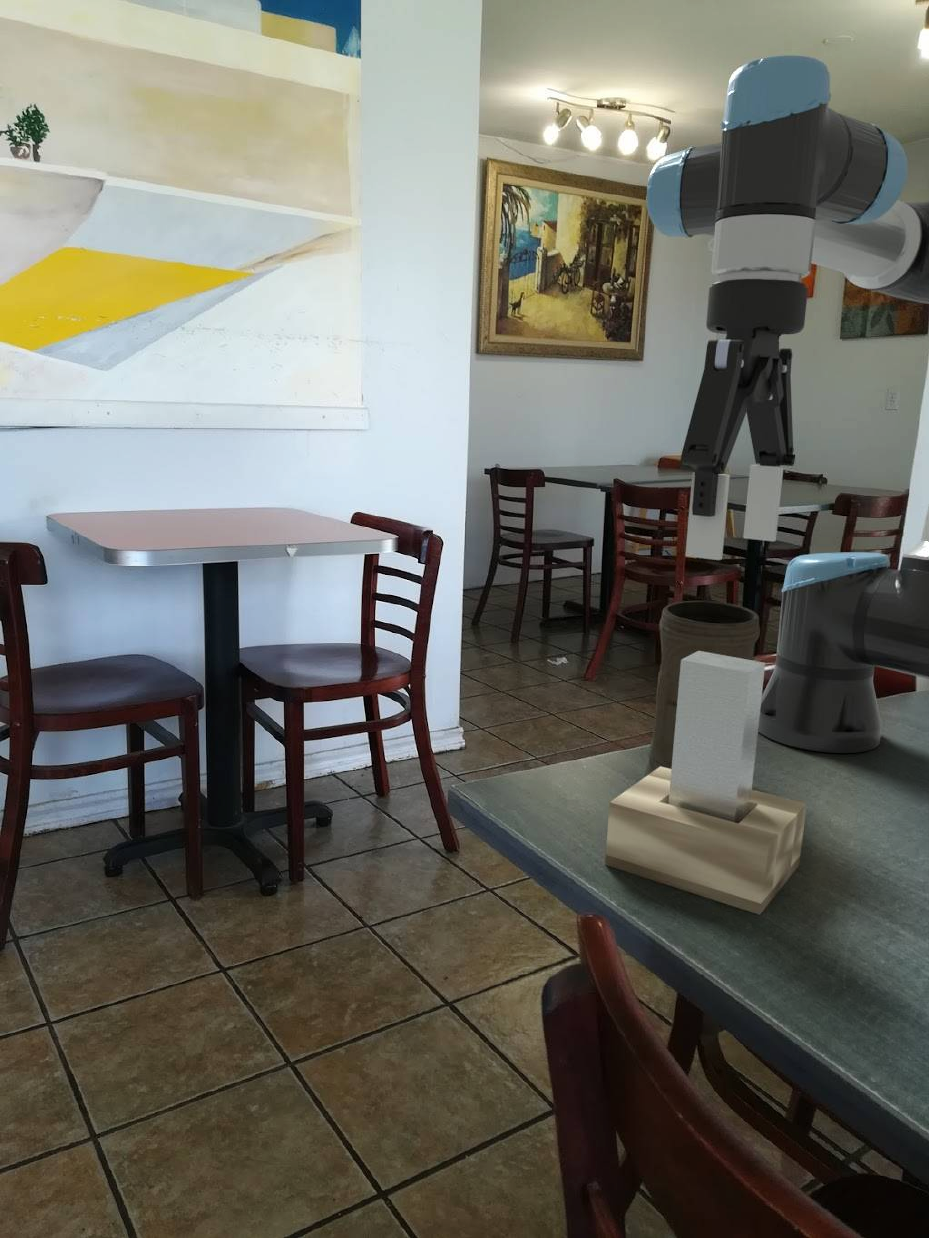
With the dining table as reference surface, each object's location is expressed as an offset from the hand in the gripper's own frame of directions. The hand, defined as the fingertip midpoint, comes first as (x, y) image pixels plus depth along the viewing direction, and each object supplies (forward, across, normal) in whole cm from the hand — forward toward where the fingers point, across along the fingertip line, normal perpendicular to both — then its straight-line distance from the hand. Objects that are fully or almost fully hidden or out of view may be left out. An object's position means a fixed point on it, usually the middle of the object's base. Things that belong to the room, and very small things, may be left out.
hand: (733, 548), depth 82 cm
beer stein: (+29, -18, -8) cm, 35 cm away
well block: (+29, 0, 0) cm, 29 cm away
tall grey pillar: (+28, 0, 0) cm, 28 cm away
